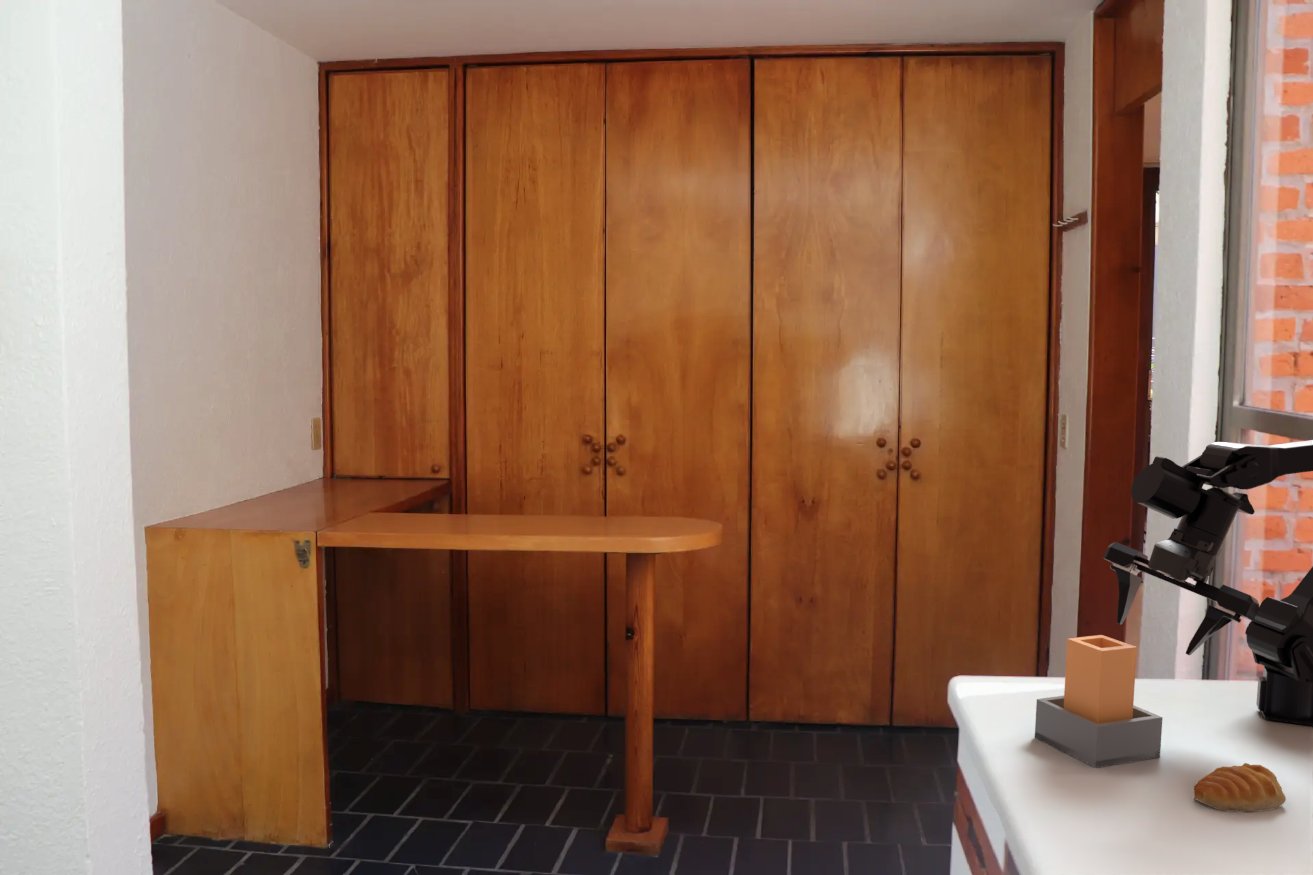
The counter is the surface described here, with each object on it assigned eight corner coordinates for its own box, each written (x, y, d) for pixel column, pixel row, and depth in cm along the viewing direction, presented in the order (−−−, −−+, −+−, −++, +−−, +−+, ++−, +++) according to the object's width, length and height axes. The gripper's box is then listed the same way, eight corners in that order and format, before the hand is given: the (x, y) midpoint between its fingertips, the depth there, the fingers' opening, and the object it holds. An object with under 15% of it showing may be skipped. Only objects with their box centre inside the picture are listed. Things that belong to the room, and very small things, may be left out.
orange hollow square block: (1096, 730, 134) (1101, 634, 132) (1130, 746, 128) (1136, 646, 127) (1061, 735, 131) (1067, 638, 130) (1095, 751, 126) (1101, 651, 125)
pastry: (1227, 822, 110) (1230, 787, 110) (1175, 796, 117) (1177, 763, 116) (1290, 809, 114) (1292, 775, 113) (1235, 785, 120) (1237, 752, 120)
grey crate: (1096, 727, 137) (1098, 690, 136) (1159, 756, 127) (1162, 717, 127) (1034, 737, 133) (1036, 698, 132) (1095, 767, 123) (1097, 726, 123)
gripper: (1115, 494, 139) (1067, 601, 139) (1264, 549, 126) (1210, 666, 127) (1138, 510, 147) (1093, 611, 147) (1280, 563, 134) (1230, 673, 135)
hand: (1152, 638), depth 139 cm, fingers open, 9 cm apart
